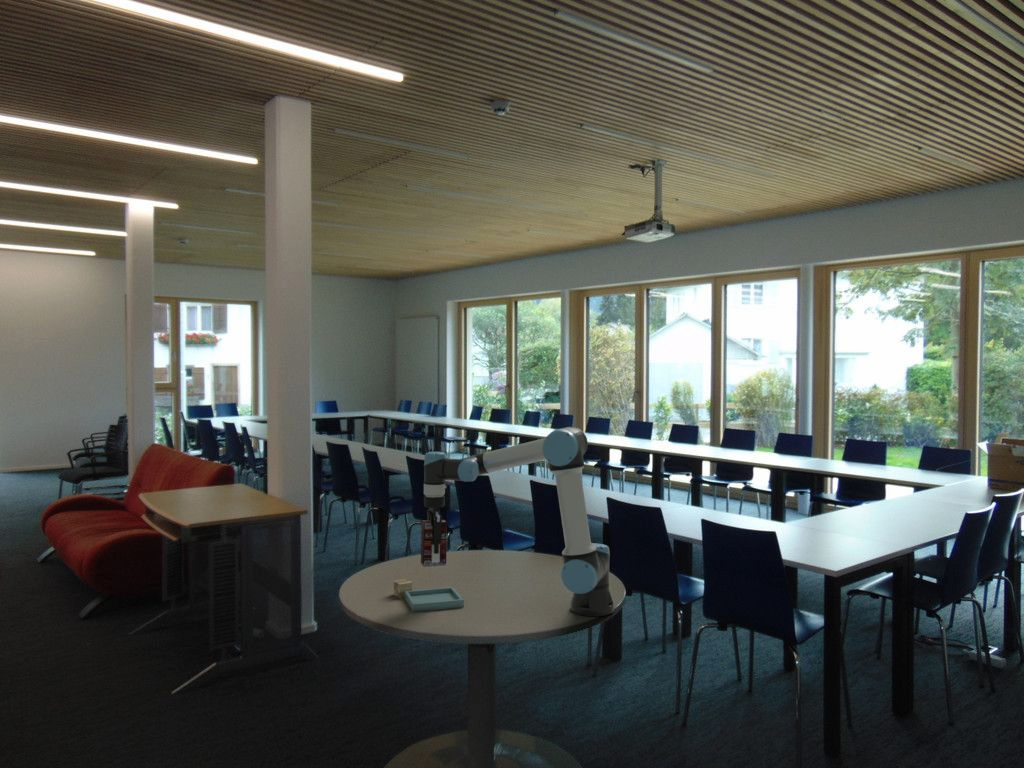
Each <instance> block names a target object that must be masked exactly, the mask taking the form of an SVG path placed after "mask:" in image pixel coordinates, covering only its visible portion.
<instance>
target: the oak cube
mask: <svg viewBox="0 0 1024 768" xmlns="http://www.w3.org/2000/svg"><path fill="white" fill-rule="evenodd" d="M405 591H413V582H412V581H410V580H408V579H407V578H404V579H400V580H399V579H398V580H393V595H394V596H396V597H397V598H399V599H401V598H405Z"/></svg>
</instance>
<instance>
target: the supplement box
mask: <svg viewBox="0 0 1024 768" xmlns="http://www.w3.org/2000/svg"><path fill="white" fill-rule="evenodd" d="M433 523H434V522H433ZM420 533H421V536H420V539H421V540H420V565H421V566H422V567H423V568H427V567H442V566H444V567H446V566H447V548H448V547H447V543H448V542H447V541H448V539H447V538H448V537H447V535H448V522H447V520H445V519H442V526H441V541H442V542H441V544H440V562H436V563H432V545H431V543H433V538H432V525H431V522H430V520H425V519H424V520H423V519H422V520H421V531H420Z"/></svg>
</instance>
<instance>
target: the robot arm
mask: <svg viewBox="0 0 1024 768" xmlns="http://www.w3.org/2000/svg"><path fill="white" fill-rule="evenodd" d="M587 450H588V437H587V435H586V434H585V433H584V431H583V430H582V429H580V428H578V427H575V426H565V427H563V428H557V429H554V430H552V431H551V432H550V433H549V434H548V435H546V436H545V437H544V438H540V439H537V440H532V441H528V442H524V443H519V444H514V445H510V446H508V447H507V446H506V447H503V448H499V449H493V450H490V451H486V452H481V453H476V454H472V455H470V456H468V457H467V456H466V457H463V458H448V457H446V453H445V452H443V451H429V452H426V453H425V454H424V463H423V468H424V469H423V478H424V480H423V495H424V496H423V506H424V507H425V508H428V509H427V510H426V515H427V516H426V517H427V518H426V519H427V520H430V522H431V525H432V538H433V543H431V545H432V563H436V562H440V544H441V542H442V541H441V526H442V520H443V515H442V513H441V511H440V509H441V508H444V507H445V505H446V496H445V493H446V489H447V485H446V481H458V482H459V481H460V482H465V483H467V482H474V481H476V479H477V478H478V476H481V475H485V474H489V473H493V472H498V471H502V470H507V469H511V468H516V467H520V466H525V465H529V464H534V463H538V462H541V461H543V462H544V461H547V462H548V467H549V472H550V473H552V475H554V476H555V477H554V478H555V483H556V490H557V497H558V504H559V511H560V517H561V518H560V519H561V526H562V531H563V538H564V546H565V547H564V548H563V550H562V552H561V556H562V562H563V563H562V564H563V566H562V568H561V573H560V577H561V581H562V584H563V585H564V586H565V588H566V589H568V591H570V592H571V593H572V597H571V600H570V604H569V606H570V611H571V612H573V613H575V614H578V615H581V616H585V617H586V616H587V617H603V616H608V615H610V614H613V613H614V611H615V604H614V600H613V597H612V594H611V590H610V557H611V553H610V547H609V546H608V545H606V544H603V543H597V542H596V543H593V542H592V540H591V534H590V533H591V532H590V526H589V520H588V513H587V512H588V511H587V505H586V500H585V499H586V498H585V493H584V487H583V479H582V470H583V469H584V467H585V462H584V455H585V453H586V451H587ZM433 522H434V523H433Z"/></svg>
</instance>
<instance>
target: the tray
mask: <svg viewBox="0 0 1024 768" xmlns="http://www.w3.org/2000/svg"><path fill="white" fill-rule="evenodd" d="M404 599H405V601H406V602H407V604H408V605H409V607H410V609H411V610H412V612H413V613H415V612H424V611H426V612H427V611H436V610H445V609H456V608H464V607H465V600H464V598H463V596H461V594H460V593H459V592H458V591H457V590H456V589H455V588H454V587H453V586H449V587H448V586H447V587H437V588H436V587H435V588H428V589H426V588H425V589H424V588H423V589H416V590H415V589H414V590H413V589H412V591H405V597H404Z"/></svg>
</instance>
